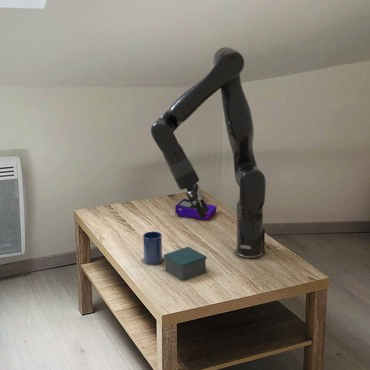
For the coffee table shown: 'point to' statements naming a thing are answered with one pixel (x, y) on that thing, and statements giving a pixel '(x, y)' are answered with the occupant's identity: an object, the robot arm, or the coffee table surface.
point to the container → (185, 263)
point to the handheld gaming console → (192, 210)
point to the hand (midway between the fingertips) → (205, 214)
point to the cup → (152, 247)
